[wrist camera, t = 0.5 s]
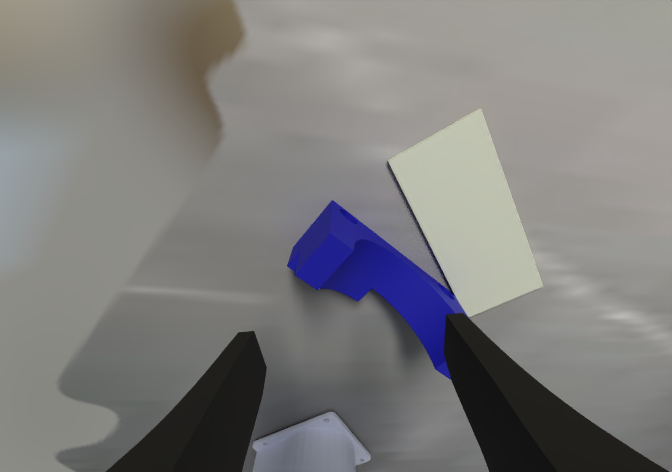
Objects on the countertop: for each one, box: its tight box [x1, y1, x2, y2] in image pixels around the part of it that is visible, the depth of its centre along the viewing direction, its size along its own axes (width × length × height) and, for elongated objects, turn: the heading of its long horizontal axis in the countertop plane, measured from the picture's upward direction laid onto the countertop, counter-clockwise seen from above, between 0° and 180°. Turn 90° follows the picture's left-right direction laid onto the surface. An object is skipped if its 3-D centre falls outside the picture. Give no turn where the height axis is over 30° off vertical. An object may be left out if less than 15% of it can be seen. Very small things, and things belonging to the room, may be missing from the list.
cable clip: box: [287, 200, 469, 379], centre depth 19 cm, size 12×4×6 cm, turn 51°
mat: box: [388, 109, 543, 317], centre depth 20 cm, size 6×14×1 cm, turn 30°
